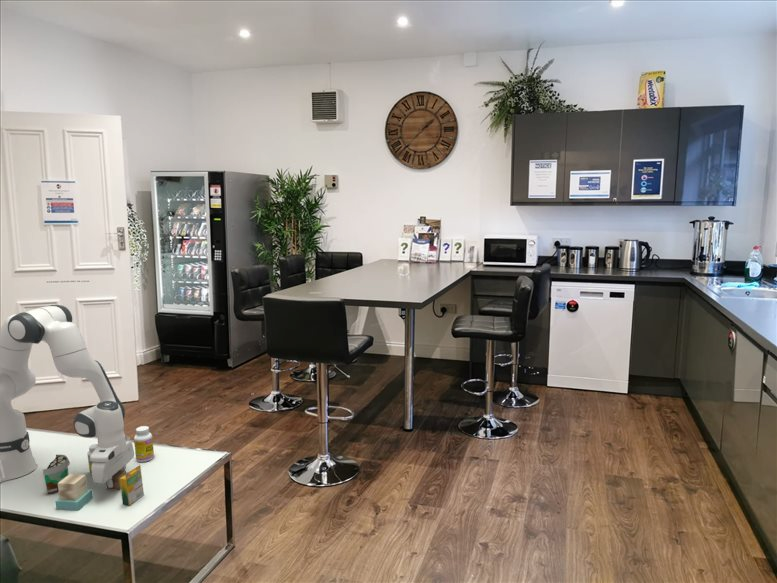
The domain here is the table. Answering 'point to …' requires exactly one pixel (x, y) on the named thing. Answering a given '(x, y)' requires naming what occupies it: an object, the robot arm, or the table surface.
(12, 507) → the table surface
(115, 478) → the walnut block
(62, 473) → the food container
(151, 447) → the supplement bottle
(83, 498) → the base brick
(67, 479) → the beech block
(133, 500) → the crayon box
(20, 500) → the table surface
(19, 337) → the robot arm
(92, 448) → the supplement bottle
